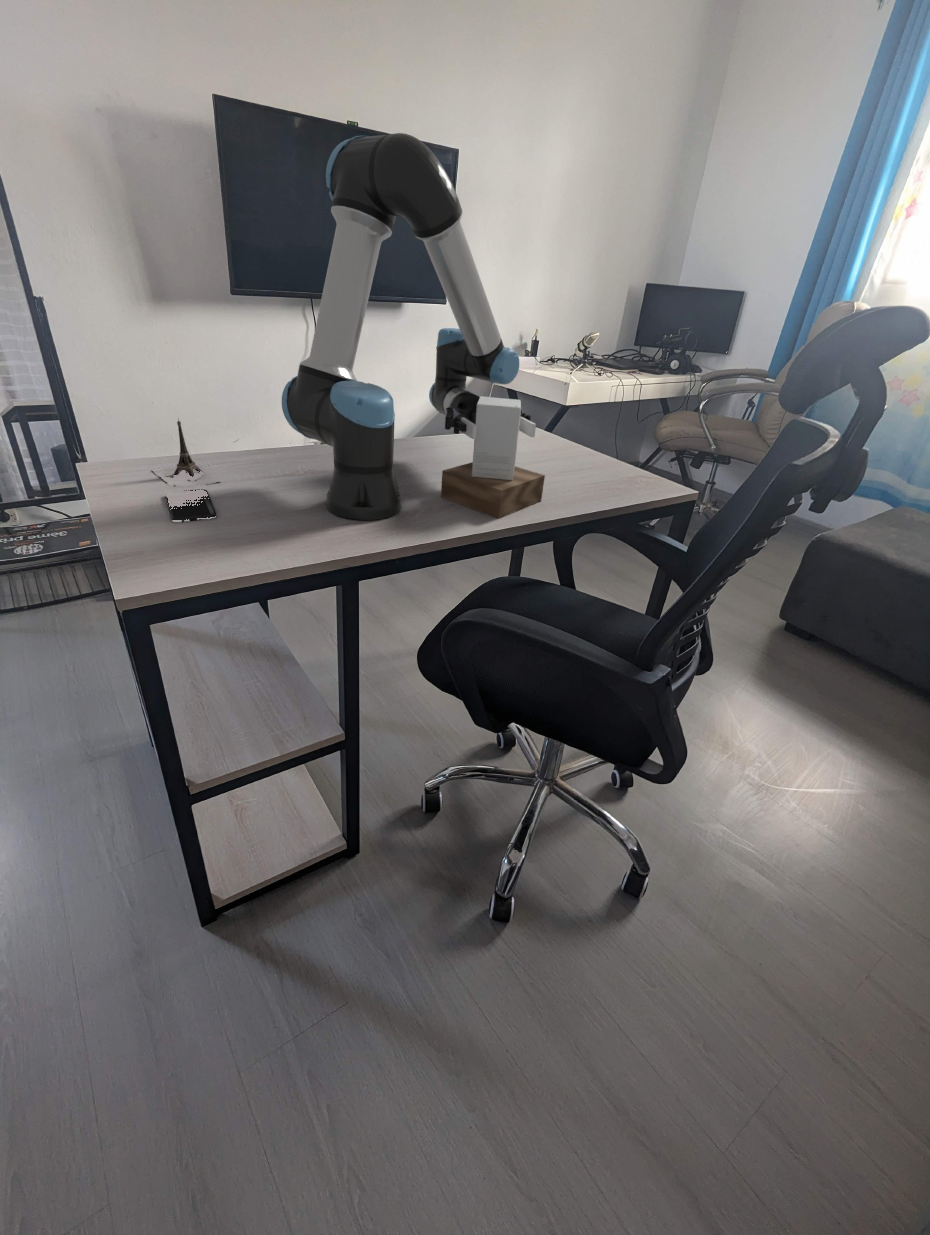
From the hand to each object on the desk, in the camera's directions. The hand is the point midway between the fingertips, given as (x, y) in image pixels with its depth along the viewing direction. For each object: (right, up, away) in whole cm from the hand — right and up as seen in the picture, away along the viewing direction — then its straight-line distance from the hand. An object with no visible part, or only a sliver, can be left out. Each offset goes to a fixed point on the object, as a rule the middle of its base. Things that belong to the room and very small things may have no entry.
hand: (504, 431), depth 120 cm
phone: (-62, -17, -6) cm, 64 cm away
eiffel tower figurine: (-69, -8, +8) cm, 70 cm away
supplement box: (-2, -7, +7) cm, 10 cm away
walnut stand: (-2, -12, +10) cm, 16 cm away
